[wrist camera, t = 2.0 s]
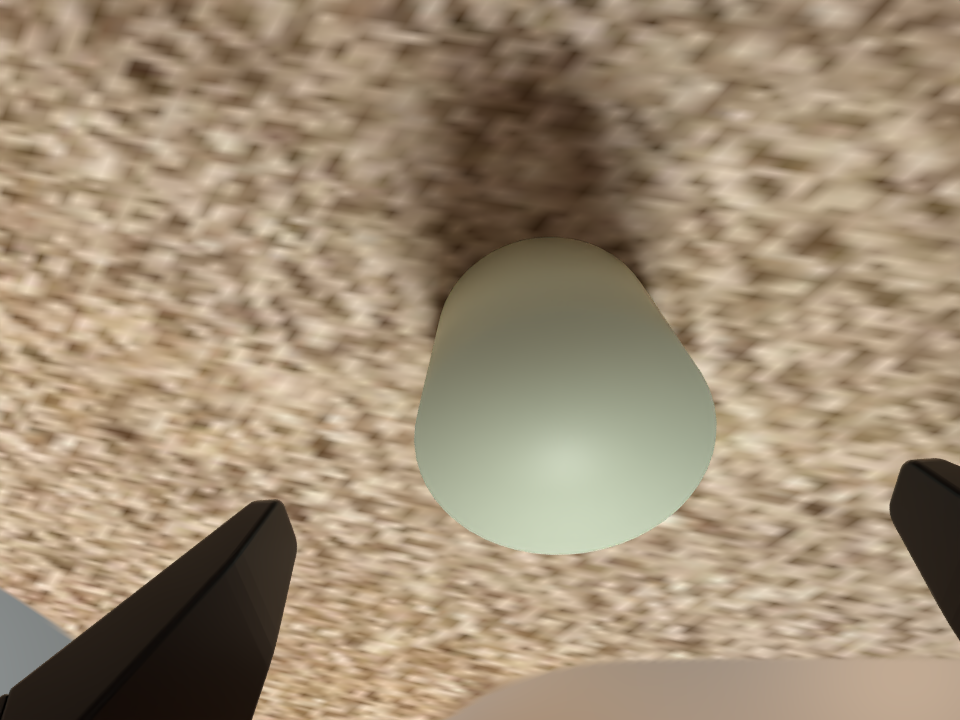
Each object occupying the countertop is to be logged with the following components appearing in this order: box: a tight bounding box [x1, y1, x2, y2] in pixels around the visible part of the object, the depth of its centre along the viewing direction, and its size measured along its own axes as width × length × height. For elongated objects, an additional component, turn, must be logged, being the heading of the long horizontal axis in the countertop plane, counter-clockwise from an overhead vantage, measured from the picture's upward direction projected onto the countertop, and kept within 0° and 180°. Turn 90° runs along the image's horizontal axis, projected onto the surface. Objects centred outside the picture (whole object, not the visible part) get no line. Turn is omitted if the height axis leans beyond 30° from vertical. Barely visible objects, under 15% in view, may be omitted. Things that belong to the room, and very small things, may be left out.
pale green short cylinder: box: [414, 237, 716, 555], centre depth 11 cm, size 5×5×4 cm
